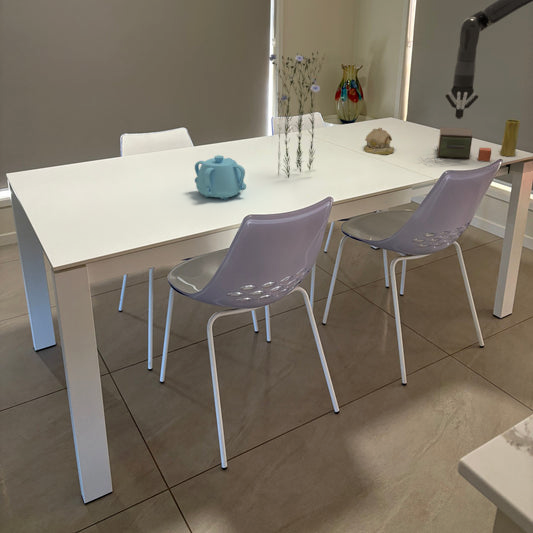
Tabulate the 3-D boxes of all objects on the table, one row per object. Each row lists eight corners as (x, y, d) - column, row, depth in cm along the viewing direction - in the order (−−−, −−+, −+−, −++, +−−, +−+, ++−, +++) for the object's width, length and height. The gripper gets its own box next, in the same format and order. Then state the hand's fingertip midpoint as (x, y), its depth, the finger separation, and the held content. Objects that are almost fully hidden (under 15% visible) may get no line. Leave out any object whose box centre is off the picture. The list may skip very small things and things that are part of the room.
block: (477, 157, 245) (479, 147, 243) (489, 158, 244) (490, 148, 242) (478, 160, 241) (480, 150, 239) (489, 161, 240) (491, 150, 238)
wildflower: (310, 164, 238) (312, 46, 219) (335, 180, 219) (340, 52, 199) (258, 170, 231) (256, 49, 212) (279, 187, 212) (279, 55, 192)
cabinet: (469, 159, 244) (472, 135, 240) (437, 157, 247) (440, 134, 243) (467, 150, 256) (470, 128, 252) (437, 148, 259) (440, 127, 255)
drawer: (468, 160, 239) (471, 141, 235) (439, 158, 241) (441, 139, 238) (466, 149, 254) (469, 131, 251) (439, 148, 257) (441, 130, 254)
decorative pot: (200, 204, 197) (198, 164, 191) (194, 189, 211) (191, 152, 205) (248, 199, 200) (247, 160, 194) (238, 185, 214) (237, 148, 208)
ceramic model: (358, 150, 259) (359, 127, 255) (374, 145, 265) (376, 123, 261) (383, 156, 249) (385, 132, 245) (399, 151, 256) (401, 128, 252)
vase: (499, 155, 248) (505, 121, 242) (499, 152, 253) (505, 118, 247) (515, 157, 246) (521, 122, 240) (515, 153, 251) (521, 119, 245)
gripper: (447, 74, 227) (441, 119, 234) (483, 75, 223) (476, 121, 231) (446, 71, 233) (441, 115, 241) (481, 72, 230) (475, 117, 237)
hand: (458, 118), depth 236 cm, fingers closed
